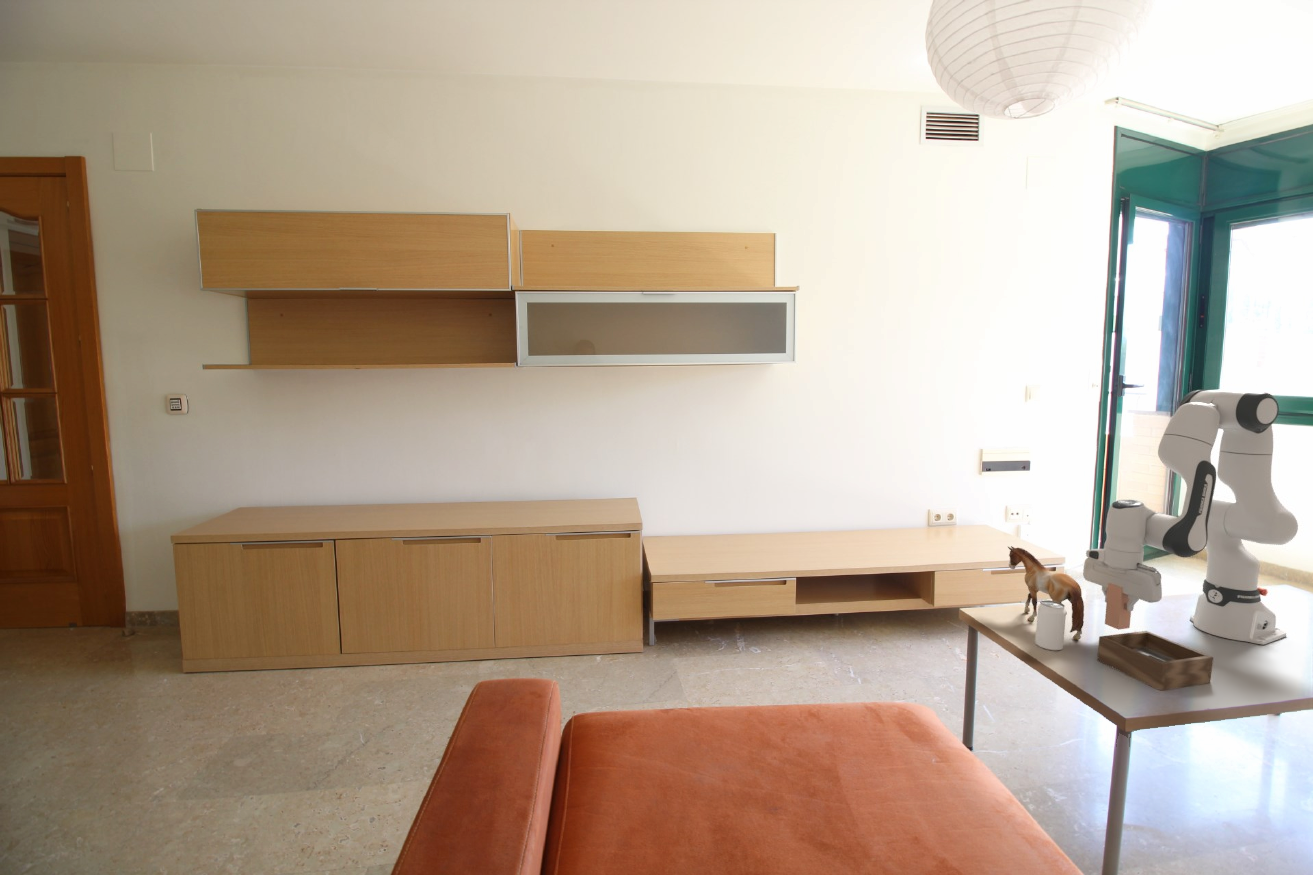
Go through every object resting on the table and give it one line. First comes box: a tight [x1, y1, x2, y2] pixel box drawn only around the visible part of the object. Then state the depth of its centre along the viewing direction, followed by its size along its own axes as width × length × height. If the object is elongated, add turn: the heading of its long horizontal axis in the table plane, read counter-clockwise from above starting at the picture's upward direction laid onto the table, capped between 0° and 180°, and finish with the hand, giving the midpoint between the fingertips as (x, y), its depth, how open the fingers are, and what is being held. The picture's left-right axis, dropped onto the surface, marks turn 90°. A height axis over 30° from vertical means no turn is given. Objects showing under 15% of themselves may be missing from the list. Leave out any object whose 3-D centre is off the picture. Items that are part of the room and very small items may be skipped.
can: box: [1034, 599, 1067, 652], centre depth 172 cm, size 6×6×12 cm
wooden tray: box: [1096, 630, 1214, 691], centre depth 158 cm, size 16×16×6 cm
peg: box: [1104, 583, 1132, 630], centre depth 176 cm, size 4×4×12 cm
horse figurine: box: [1007, 546, 1085, 640], centre depth 184 cm, size 31×8×21 cm, turn 5°
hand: (1118, 606), depth 176 cm, fingers closed on peg, 4 cm apart
